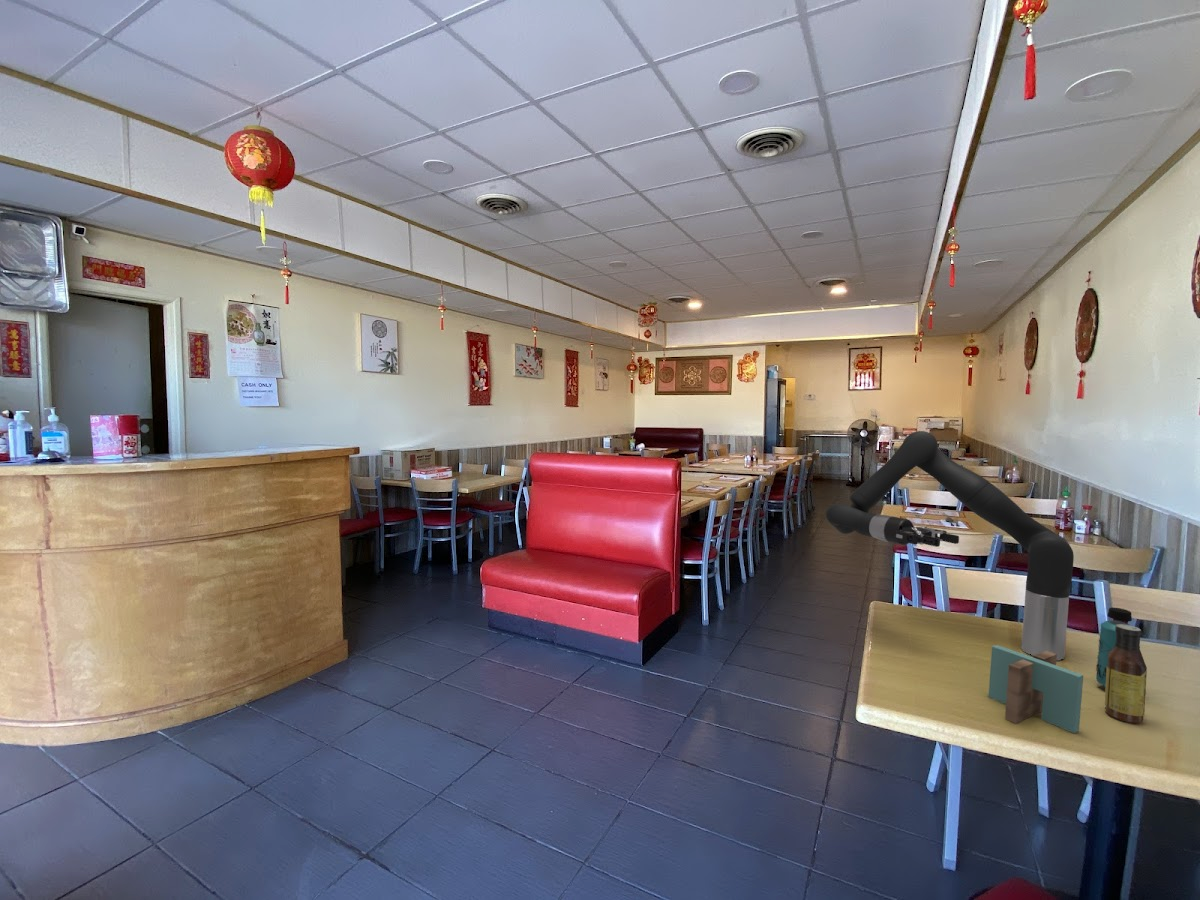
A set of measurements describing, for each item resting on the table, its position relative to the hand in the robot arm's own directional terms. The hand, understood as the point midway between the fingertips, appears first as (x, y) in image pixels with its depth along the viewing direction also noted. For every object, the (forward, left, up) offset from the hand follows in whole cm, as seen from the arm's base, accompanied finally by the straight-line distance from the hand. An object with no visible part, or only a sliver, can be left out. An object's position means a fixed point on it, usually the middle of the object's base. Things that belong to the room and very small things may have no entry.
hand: (948, 541), depth 142 cm
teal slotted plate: (+9, +24, -32) cm, 41 cm away
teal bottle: (-21, +28, -32) cm, 48 cm away
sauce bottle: (-8, +34, -32) cm, 48 cm away
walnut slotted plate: (+9, +24, -32) cm, 41 cm away
